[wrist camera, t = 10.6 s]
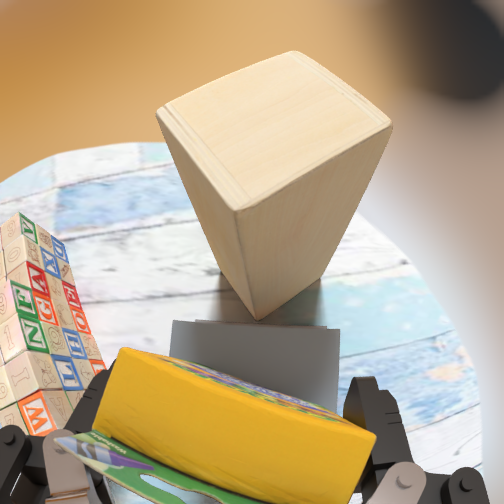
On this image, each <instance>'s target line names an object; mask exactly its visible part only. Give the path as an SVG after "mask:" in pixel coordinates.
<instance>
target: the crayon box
mask: <svg viewBox="0 0 504 504" xmlns="http://www.w3.org/2000/svg"><path fill="white" fill-rule="evenodd" d="M53 440H54V442H55V443H56V444H57V445H58V446H59V447H61V448H62V449H63V450H65V451H66V452H68V453H69V454H71V455H73V456H74V457H75V458H76V459H77V460H79V461H81V462H83V463H84V464H86V465H87V466H89V467H91V468H92V469H94V470H95V471H97V472H99V473H100V474H102V475H104V476H105V477H107V478H109V479H110V480H112V481H113V482H115V483H117V484H118V485H120V486H122V487H124V488H126V489H128V490H130V491H132V492H133V493H135V494H137V495H139V496H141V497H143V498H145V499H147V500H149V501H151V502H153V503H155V504H186V503H184V502H183V501H182V500H181V499H180V498H178V497H177V496H174V495H172V494H170V493H168V492H166V491H163V490H161V489H159V488H156V487H154V486H152V485H150V484H149V483H147V482H145V481H144V480H142V479H141V477H140V475H141V474H144V475H149V476H153V477H155V478H158V479H160V480H162V481H164V482H166V483H168V484H170V485H172V486H175V487H177V488H179V489H182V490H185V491H193V492H197V493H200V494H204V495H206V496H208V497H211V498H213V499H215V500H217V501H218V502H220V503H221V504H348V503H349V501H350V499H351V497H352V495H353V492H354V490H355V488H356V486H357V484H358V482H359V480H360V477H361V475H362V472H363V470H364V468H365V466H366V463H367V460H368V458H369V456H370V453H371V450H372V448H373V446H374V444H375V443H376V440H377V437H376V435H375V434H374V433H371V432H369V431H367V430H365V429H363V428H361V427H359V426H357V425H355V424H353V423H351V422H349V421H348V420H346V419H344V418H342V417H340V416H339V415H337V414H335V413H334V412H332V411H330V410H328V409H326V408H325V407H323V406H321V405H319V404H315V403H312V402H309V401H305V400H302V399H299V398H296V397H293V396H290V395H287V394H283V393H280V392H277V391H274V390H271V389H268V388H265V387H262V386H259V385H257V384H254V383H251V382H248V381H245V380H242V379H239V378H236V377H233V376H231V375H228V374H226V373H223V372H220V371H218V370H215V369H213V368H210V367H208V366H205V365H202V364H199V363H196V362H192V361H187V360H182V359H178V358H172V357H167V356H163V355H158V354H153V353H148V352H143V351H139V350H135V349H132V348H128V347H122V348H120V350H119V353H118V356H117V359H116V361H115V364H114V366H113V369H112V372H111V374H110V377H109V379H108V382H107V385H106V388H105V390H104V394H103V397H102V399H101V402H100V405H99V408H98V411H97V414H96V418H95V420H94V423H93V425H92V431H91V432H87V433H81V434H76V435H73V436H68V437H59V438H54V439H53Z"/></svg>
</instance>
